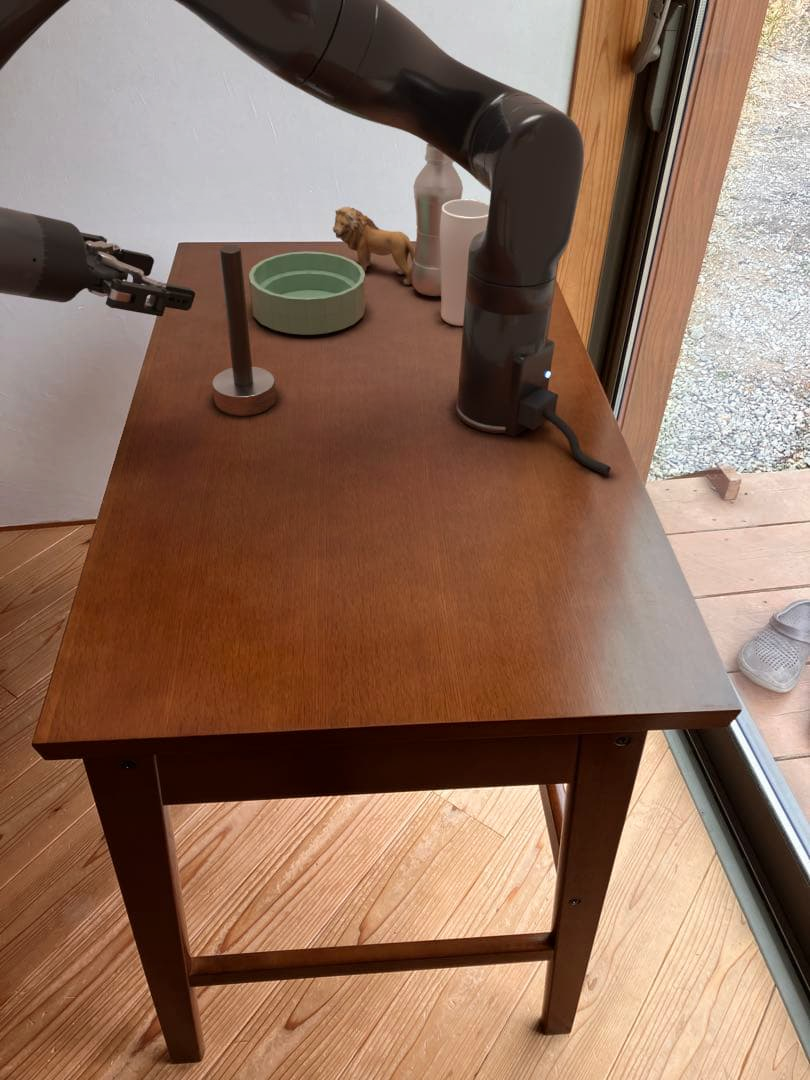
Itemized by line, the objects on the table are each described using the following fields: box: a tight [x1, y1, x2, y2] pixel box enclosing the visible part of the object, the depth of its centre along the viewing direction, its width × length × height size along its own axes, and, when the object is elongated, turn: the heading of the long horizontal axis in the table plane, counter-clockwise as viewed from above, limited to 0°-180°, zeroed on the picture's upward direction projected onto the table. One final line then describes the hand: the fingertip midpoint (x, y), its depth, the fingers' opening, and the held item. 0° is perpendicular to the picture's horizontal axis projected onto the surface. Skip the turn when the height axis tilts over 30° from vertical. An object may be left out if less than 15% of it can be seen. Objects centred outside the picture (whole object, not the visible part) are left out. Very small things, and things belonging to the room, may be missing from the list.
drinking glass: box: [440, 198, 490, 327], centre depth 116 cm, size 7×7×15 cm
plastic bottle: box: [411, 143, 464, 297], centre depth 120 cm, size 6×7×20 cm
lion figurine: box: [332, 206, 415, 286], centre depth 128 cm, size 15×5×9 cm, turn 70°
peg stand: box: [212, 244, 277, 417], centre depth 97 cm, size 7×7×18 cm
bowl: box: [248, 251, 366, 336], centre depth 119 cm, size 15×15×6 cm
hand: (170, 282), depth 94 cm, fingers open, 8 cm apart
